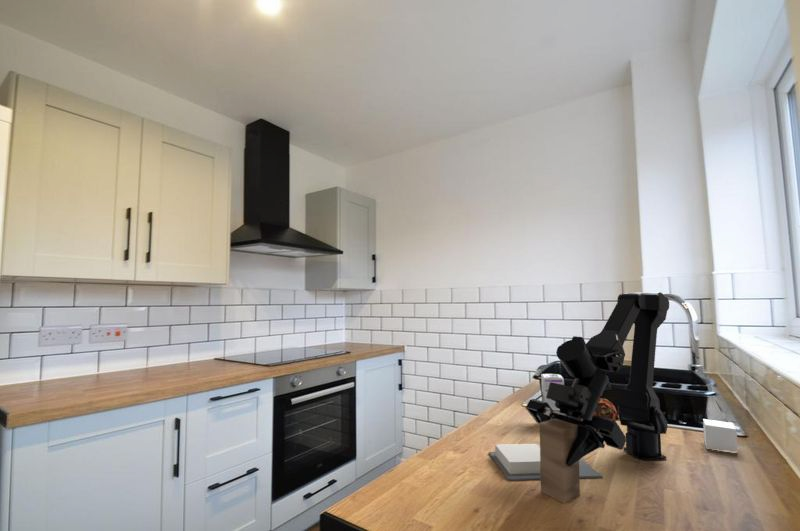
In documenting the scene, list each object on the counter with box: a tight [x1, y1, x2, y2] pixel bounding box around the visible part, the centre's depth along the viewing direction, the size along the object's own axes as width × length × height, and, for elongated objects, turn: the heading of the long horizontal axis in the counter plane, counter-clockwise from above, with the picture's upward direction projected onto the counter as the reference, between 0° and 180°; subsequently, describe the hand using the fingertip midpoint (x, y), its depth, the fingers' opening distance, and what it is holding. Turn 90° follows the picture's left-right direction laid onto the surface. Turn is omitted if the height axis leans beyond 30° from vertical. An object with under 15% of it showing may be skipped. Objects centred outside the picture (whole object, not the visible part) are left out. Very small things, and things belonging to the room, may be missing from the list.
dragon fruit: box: [591, 397, 620, 422], centre depth 117 cm, size 8×8×12 cm
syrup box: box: [540, 373, 565, 412], centre depth 116 cm, size 6×6×14 cm
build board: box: [488, 443, 603, 481], centre depth 89 cm, size 20×14×3 cm
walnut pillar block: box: [539, 419, 581, 504], centre depth 76 cm, size 5×5×13 cm
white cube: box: [702, 418, 739, 453], centre depth 99 cm, size 6×6×6 cm
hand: (554, 459), depth 76 cm, fingers closed on walnut pillar block, 5 cm apart
